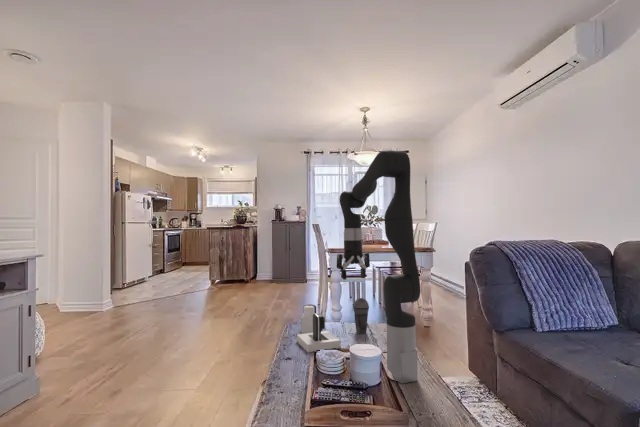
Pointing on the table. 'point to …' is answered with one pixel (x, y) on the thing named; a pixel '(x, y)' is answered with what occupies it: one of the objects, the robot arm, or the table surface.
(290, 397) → the table surface
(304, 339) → the charging dock
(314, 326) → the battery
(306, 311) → the medicine bottle
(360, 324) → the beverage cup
